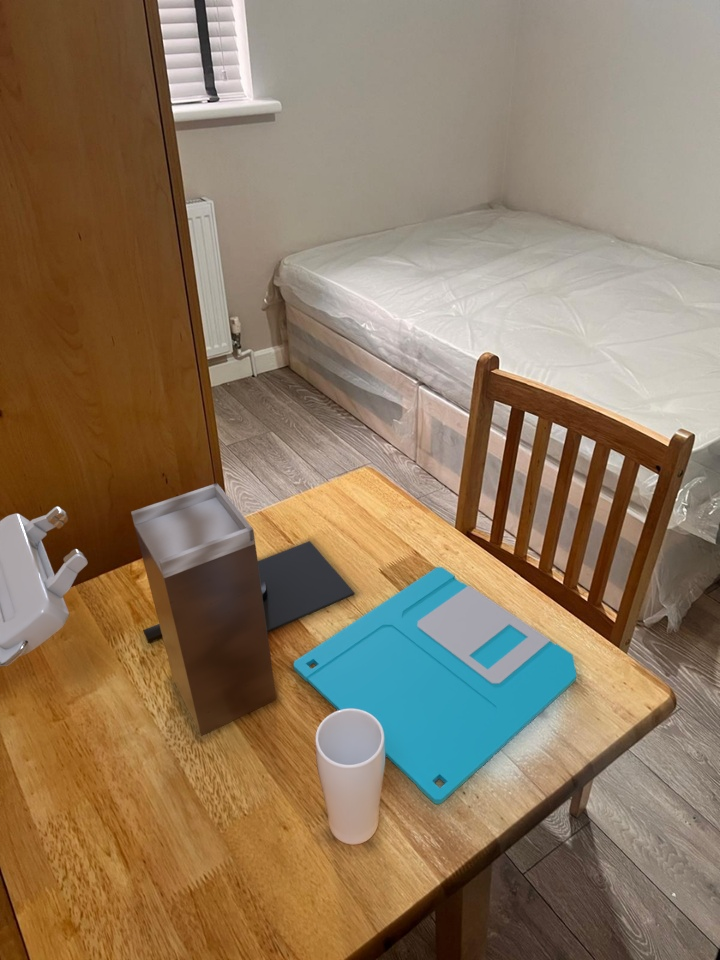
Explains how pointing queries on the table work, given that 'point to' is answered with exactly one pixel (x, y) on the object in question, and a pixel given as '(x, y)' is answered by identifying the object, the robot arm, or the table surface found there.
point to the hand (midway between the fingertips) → (72, 532)
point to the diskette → (440, 677)
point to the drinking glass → (351, 772)
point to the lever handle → (155, 631)
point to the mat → (299, 584)
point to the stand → (208, 603)
